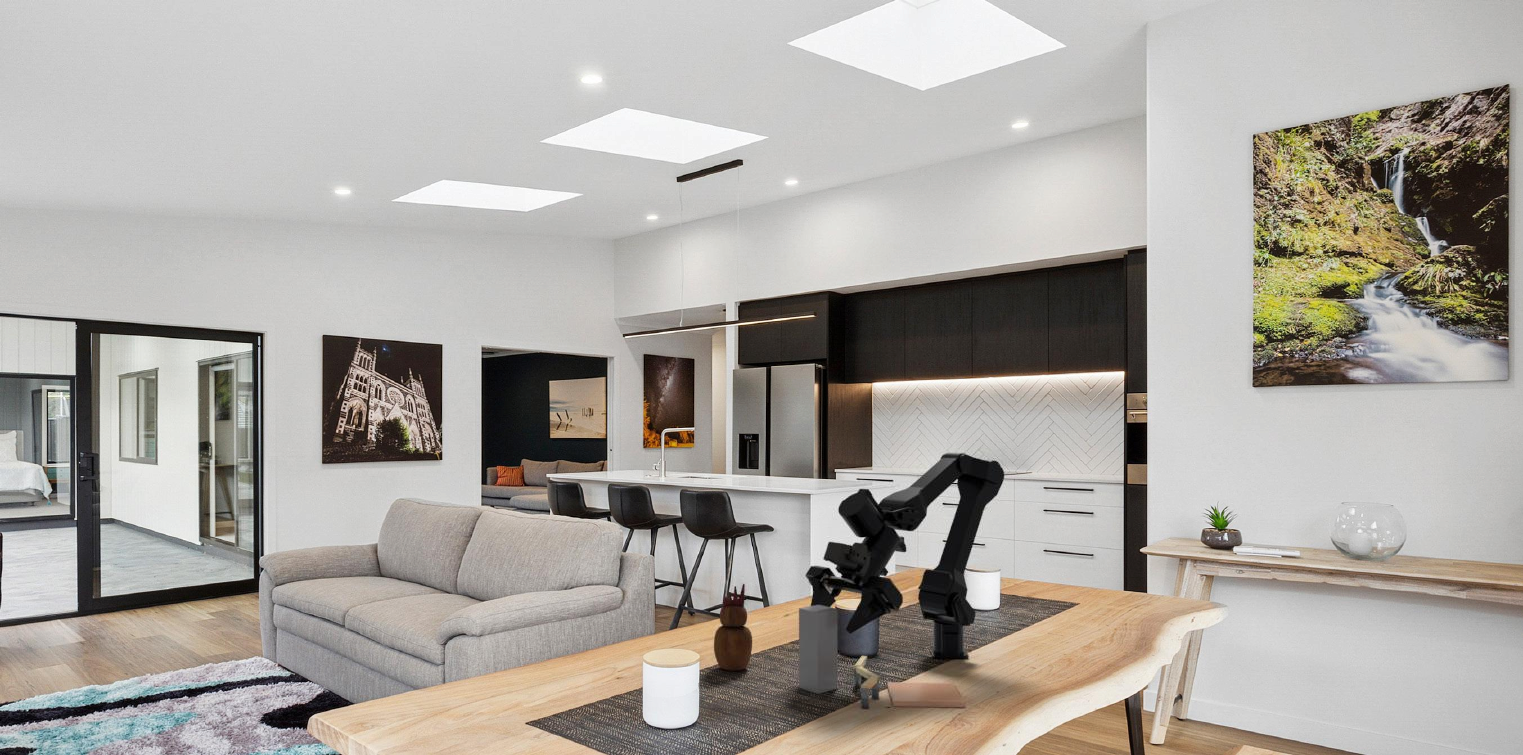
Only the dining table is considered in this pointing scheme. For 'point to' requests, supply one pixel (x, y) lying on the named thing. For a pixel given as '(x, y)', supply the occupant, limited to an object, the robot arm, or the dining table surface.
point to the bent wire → (871, 683)
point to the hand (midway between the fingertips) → (828, 627)
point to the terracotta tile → (925, 694)
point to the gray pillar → (818, 649)
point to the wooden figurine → (733, 634)
